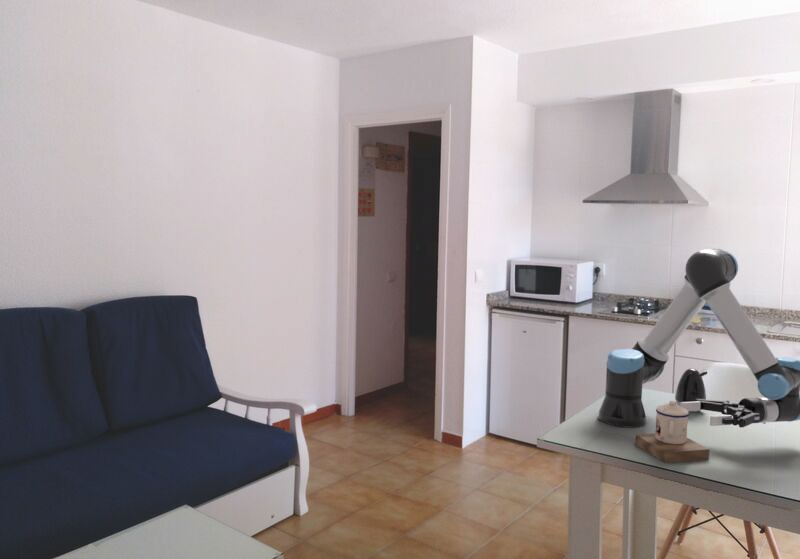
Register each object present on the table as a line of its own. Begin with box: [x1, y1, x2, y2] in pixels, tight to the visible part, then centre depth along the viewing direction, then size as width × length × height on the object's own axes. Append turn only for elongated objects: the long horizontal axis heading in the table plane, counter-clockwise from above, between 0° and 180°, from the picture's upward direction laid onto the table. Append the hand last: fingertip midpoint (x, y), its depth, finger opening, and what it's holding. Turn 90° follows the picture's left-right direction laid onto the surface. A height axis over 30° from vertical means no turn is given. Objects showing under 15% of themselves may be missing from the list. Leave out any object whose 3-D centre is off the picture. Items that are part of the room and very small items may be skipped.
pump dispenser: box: [674, 368, 708, 413], centre depth 235 cm, size 10×10×15 cm
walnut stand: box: [634, 432, 710, 464], centre depth 194 cm, size 15×14×3 cm
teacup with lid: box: [654, 400, 690, 444], centre depth 194 cm, size 12×9×12 cm
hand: (695, 413), depth 195 cm, fingers open, 13 cm apart
